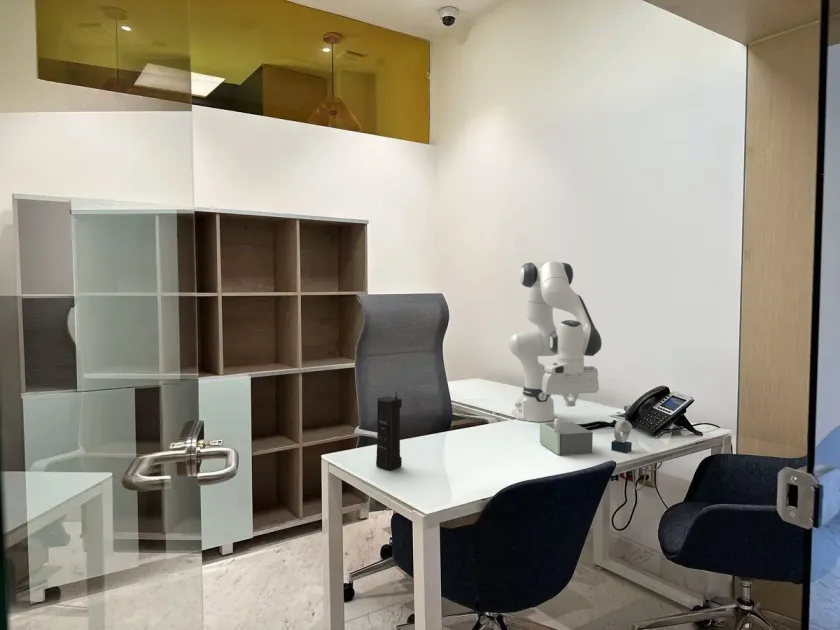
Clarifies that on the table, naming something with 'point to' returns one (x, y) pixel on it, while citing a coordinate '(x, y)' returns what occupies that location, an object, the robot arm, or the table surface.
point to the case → (574, 439)
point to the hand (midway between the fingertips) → (570, 406)
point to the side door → (551, 436)
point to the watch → (621, 442)
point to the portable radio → (388, 433)
